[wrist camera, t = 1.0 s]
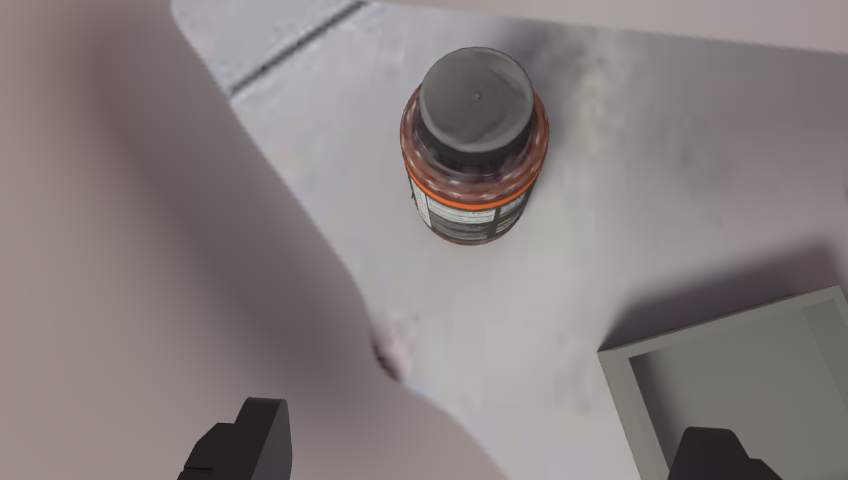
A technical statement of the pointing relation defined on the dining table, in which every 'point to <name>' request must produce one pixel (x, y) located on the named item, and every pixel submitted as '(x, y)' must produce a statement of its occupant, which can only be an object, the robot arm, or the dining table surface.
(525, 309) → the dining table surface
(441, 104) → the supplement bottle
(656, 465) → the tray
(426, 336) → the dining table surface
